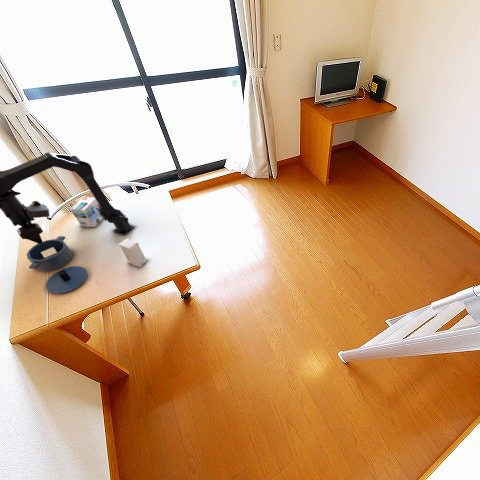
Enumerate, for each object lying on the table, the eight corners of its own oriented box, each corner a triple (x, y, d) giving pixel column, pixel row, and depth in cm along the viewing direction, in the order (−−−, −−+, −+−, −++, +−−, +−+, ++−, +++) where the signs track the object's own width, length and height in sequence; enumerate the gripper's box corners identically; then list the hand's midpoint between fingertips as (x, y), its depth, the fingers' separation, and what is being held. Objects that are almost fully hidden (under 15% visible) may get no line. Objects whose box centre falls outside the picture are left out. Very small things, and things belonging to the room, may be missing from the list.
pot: (83, 245, 128) (75, 236, 124) (56, 276, 115) (47, 267, 111) (53, 244, 128) (45, 234, 123) (23, 275, 114) (13, 265, 110)
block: (58, 253, 123) (53, 247, 120) (62, 259, 122) (56, 252, 119) (46, 259, 121) (40, 252, 118) (50, 264, 119) (44, 257, 116)
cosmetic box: (147, 260, 126) (137, 242, 118) (140, 267, 123) (129, 248, 115) (136, 256, 127) (126, 238, 119) (128, 263, 124) (117, 244, 116)
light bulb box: (94, 227, 137) (84, 210, 130) (80, 226, 137) (69, 209, 130) (106, 214, 145) (97, 197, 138) (93, 213, 145) (83, 196, 137)
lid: (95, 268, 120) (89, 260, 116) (75, 295, 110) (68, 287, 106) (61, 267, 119) (54, 258, 115) (38, 293, 109) (29, 285, 105)
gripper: (47, 209, 103) (69, 239, 114) (31, 188, 111) (53, 218, 122) (7, 223, 96) (35, 253, 107) (-6, 199, 104) (21, 229, 115)
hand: (37, 237), depth 113 cm, fingers open, 9 cm apart
